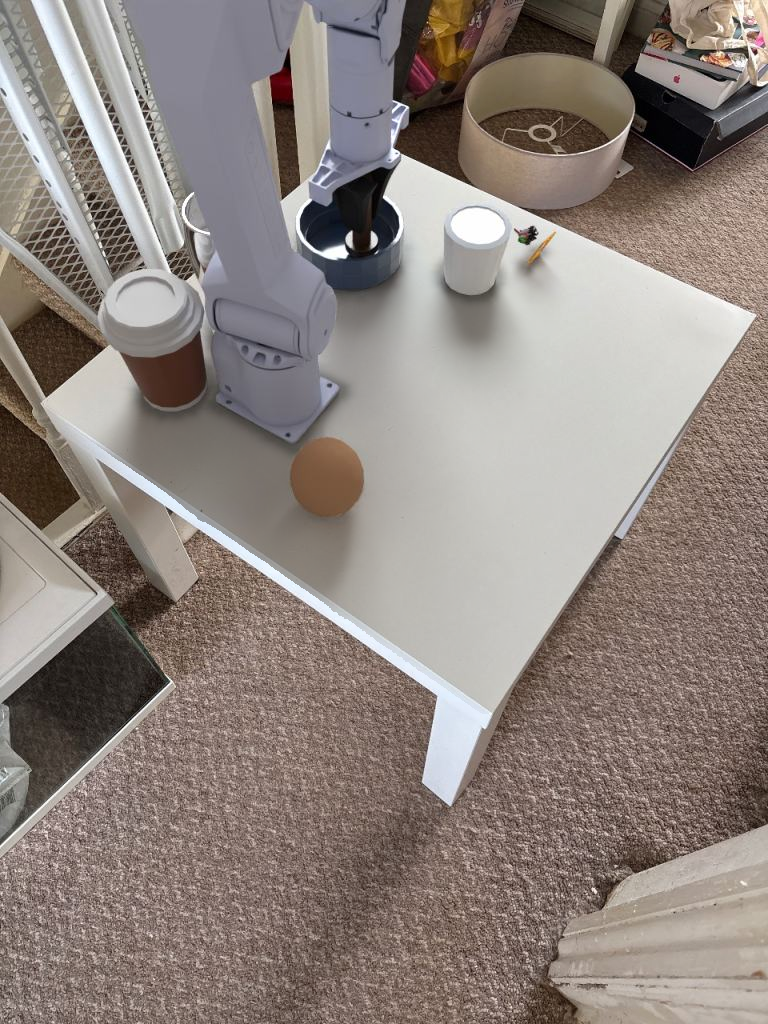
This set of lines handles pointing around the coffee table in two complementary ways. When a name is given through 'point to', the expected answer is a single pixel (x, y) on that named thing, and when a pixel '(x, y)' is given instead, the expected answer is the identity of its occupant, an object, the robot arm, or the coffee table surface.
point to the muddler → (362, 236)
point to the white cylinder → (474, 246)
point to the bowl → (326, 244)
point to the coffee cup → (157, 336)
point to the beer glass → (197, 238)
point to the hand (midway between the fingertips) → (360, 221)
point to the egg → (326, 477)
